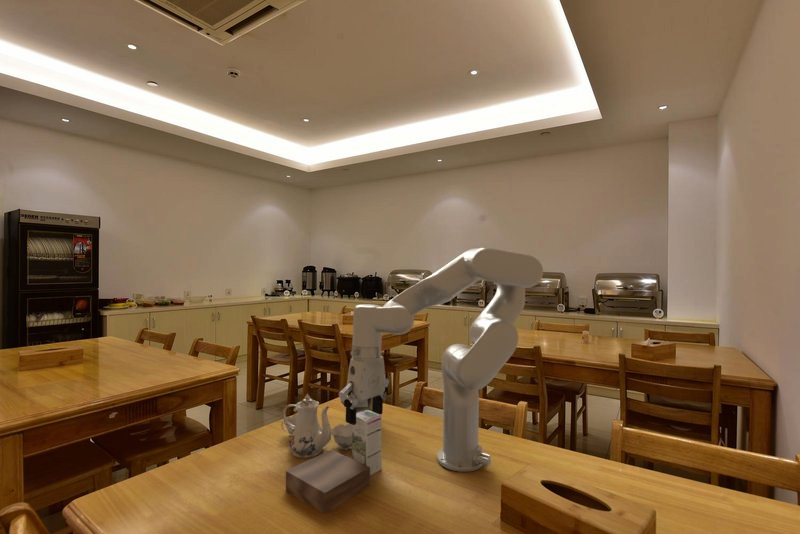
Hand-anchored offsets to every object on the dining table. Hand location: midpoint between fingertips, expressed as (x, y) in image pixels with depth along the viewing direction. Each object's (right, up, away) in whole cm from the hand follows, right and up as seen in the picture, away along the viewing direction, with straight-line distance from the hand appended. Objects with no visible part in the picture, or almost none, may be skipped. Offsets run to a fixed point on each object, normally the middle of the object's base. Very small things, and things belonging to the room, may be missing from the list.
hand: (364, 418), depth 103 cm
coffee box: (-3, -13, +29) cm, 32 cm away
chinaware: (-16, -14, +13) cm, 25 cm away
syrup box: (+1, -14, 0) cm, 14 cm away
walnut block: (-8, -14, -8) cm, 18 cm away
